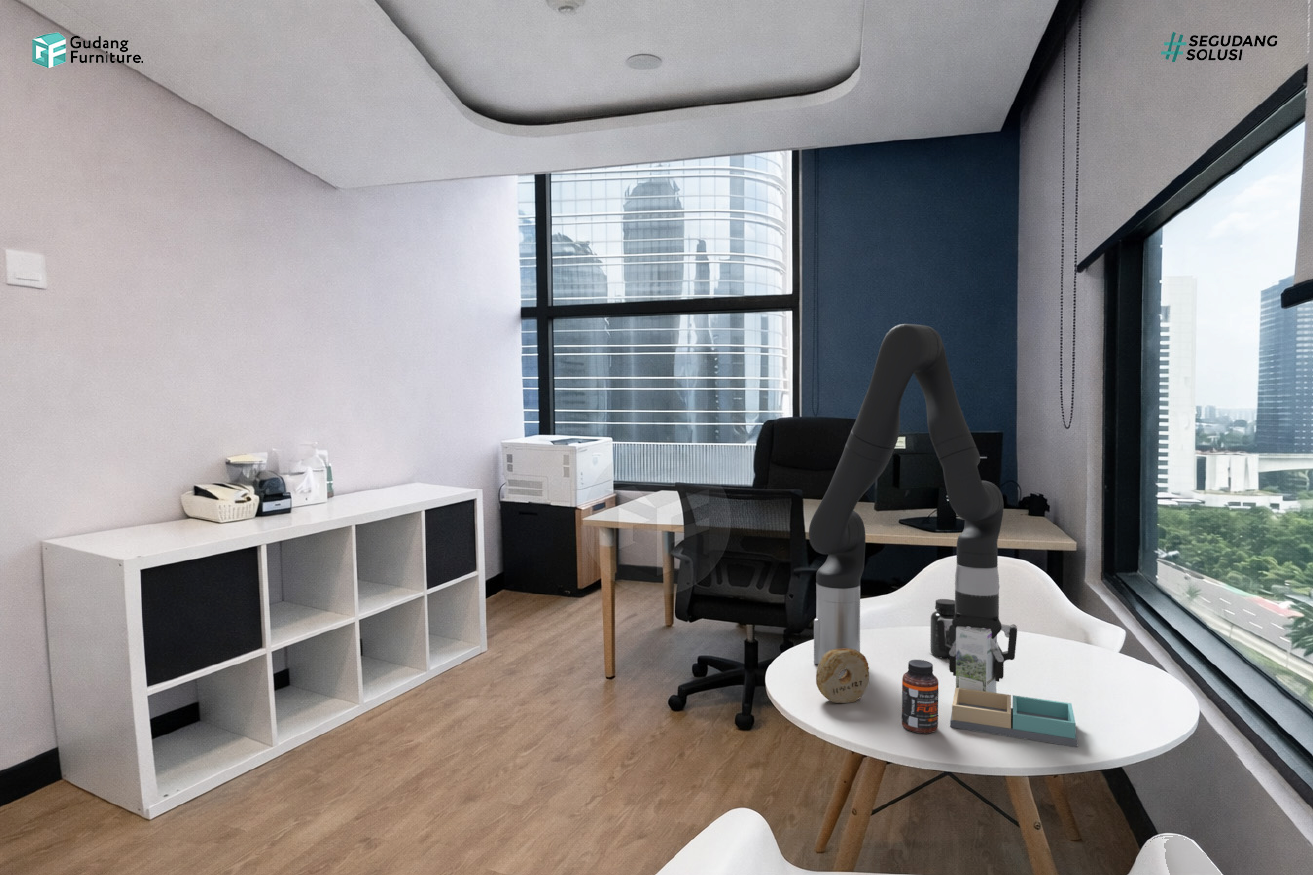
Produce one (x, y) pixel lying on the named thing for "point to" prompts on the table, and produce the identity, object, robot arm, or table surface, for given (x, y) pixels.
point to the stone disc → (850, 683)
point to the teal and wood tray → (1014, 716)
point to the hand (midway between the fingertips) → (976, 677)
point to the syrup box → (975, 660)
